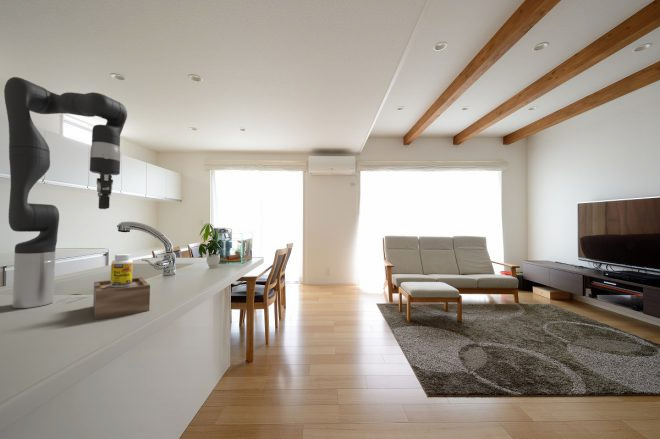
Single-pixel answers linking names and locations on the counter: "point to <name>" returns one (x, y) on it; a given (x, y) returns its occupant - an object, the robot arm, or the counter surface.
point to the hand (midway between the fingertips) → (103, 208)
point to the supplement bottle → (121, 271)
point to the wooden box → (120, 298)
